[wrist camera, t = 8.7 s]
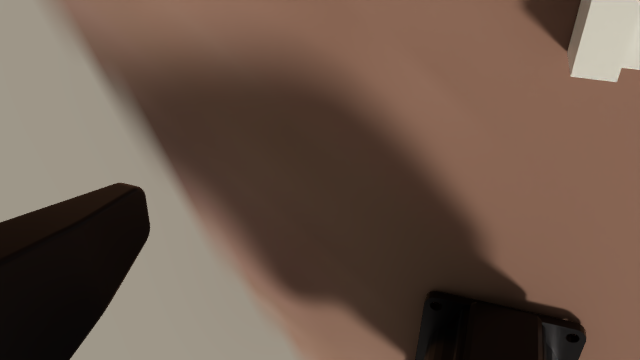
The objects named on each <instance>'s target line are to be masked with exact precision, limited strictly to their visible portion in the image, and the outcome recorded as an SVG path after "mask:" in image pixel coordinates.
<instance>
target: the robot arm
mask: <svg viewBox="0 0 640 360" xmlns="http://www.w3.org/2000/svg"><path fill="white" fill-rule="evenodd" d="M149 232H150V222H149V216H148V209H147V203H146V196H145V193H144V191H143V190H142V189H141V188H140V187H137V186H133V185H129V184H124V183H117V184H113V185H110V186H107V187H104V188H101V189H99V190H95V191H92V192H89V193H87V194H84V195H81V196H77V197H75V198H72V199H69V200H66V201H63V202H60V203H57V204H54V205H51V206H48V207H45V208H42V209H39V210H36V211H33V212H30V213H27V214H24V215H21V216H18V217H15V218H12V219H10V220H7V221H3V222H1V223H0V360H70V358H71V357H72V356H73V354H74V353H75V352H76V350H77V349H78V348H79V346H80V345H81V343H82V342H83V341H84V339H85V338H86V336H87V335H88V334H89V333H90V331H91V330H92V329H93V327H94V326H95V324H96V323H97V321H98V320H99V319H100V317H101V316H102V314H103V313H104V311H105V310H106V308H107V307H108V305H109V304H110V302H111V300H112V299H113V297H114V295H115V294H116V292H117V290H118V289H119V287H120V285H121V283H122V282H123V280H124V278H125V277H126V275H127V273H128V271H129V270H130V268H131V266H132V264H133V263H134V261H135V259H136V258H137V256H138V254H139V253H140V251H141V249H142V247H143V246H144V244H145V242H146V241H147V238H148V236H149ZM433 302H438V303H440V304H435V303H433ZM569 334H576V335H569ZM585 342H586V331H585V329H584V327H583V326H582V325H580V324H578V323H575V322H571V321H567V320H562V319H558V318H553V317H549V316H545V315H540V314H536V313H531V312H527V311H523V310H518V309H514V308H509V307H505V306H500V305H496V304H492V303H487V302H483V301H478V300H474V299H470V298H465V297H461V296H456V295H452V294H448V293H443V292H439V291H433V292H430V293H428V294H427V296H426V299H425V303H424V309H423V315H422V322H421V328H420V334H419V340H418V346H417V353H416V359H415V360H578V359H579V357H580V354H581V352H582V349H583V347H584V345H585Z"/></svg>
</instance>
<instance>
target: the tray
mask: <svg viewBox="0 0 640 360" xmlns="http://www.w3.org/2000/svg"><path fill="white" fill-rule="evenodd" d="M567 55H568V62H569V69H570V76H571V77H579V78H587V79H595V80H603V81H612V82H617V80H618V77H619V74H620V71H621V68H629V69H637V70H640V0H581V3H580V6H579V10H578V14H577V17H576V21H575V25H574V29H573V32H572V36H571V40H570V44H569V47H568V51H567Z"/></svg>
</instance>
